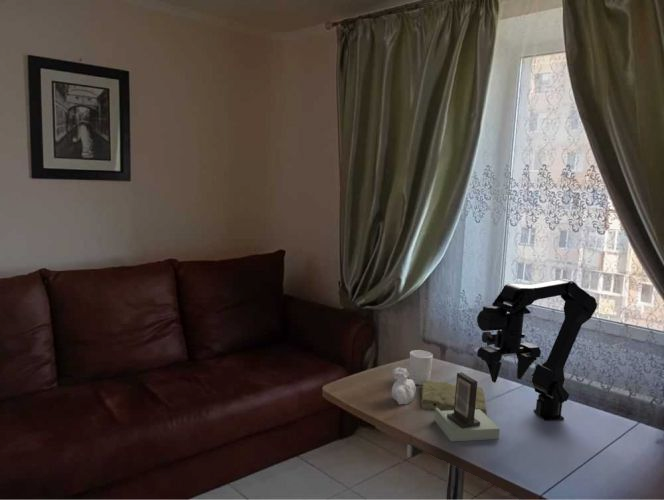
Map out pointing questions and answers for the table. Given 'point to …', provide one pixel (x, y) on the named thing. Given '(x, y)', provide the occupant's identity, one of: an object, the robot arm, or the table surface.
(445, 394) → the decorative tile
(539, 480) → the table surface
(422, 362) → the white cup
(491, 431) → the picture ledge
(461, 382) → the dark photo frame
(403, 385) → the bust
